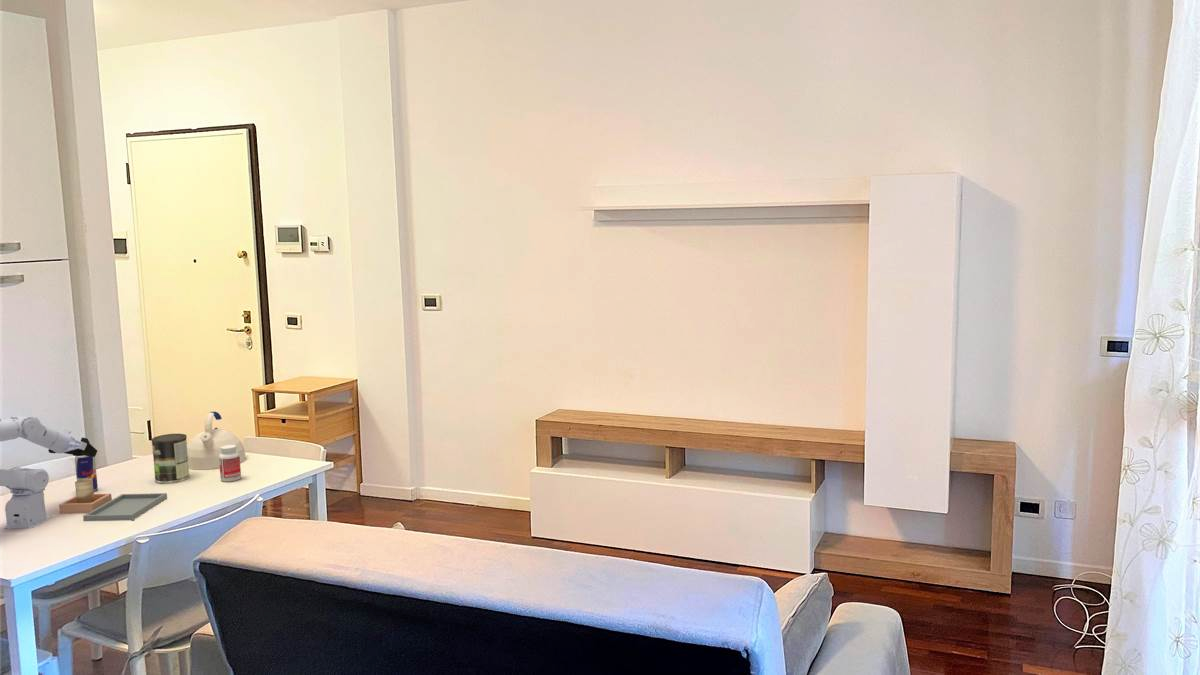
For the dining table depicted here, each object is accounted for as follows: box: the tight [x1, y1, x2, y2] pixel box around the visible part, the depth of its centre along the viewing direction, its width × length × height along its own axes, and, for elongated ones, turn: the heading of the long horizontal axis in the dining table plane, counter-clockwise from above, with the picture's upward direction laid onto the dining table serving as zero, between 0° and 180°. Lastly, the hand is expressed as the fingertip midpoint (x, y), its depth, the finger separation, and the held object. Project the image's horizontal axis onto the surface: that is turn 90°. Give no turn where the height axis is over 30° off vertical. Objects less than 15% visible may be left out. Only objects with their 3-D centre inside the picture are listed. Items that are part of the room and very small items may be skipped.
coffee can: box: [151, 433, 190, 484], centre depth 275 cm, size 10×10×14 cm
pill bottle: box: [219, 445, 242, 483], centre depth 274 cm, size 6×6×11 cm
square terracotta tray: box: [58, 493, 113, 514], centre depth 247 cm, size 10×10×3 cm
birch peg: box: [74, 479, 95, 503], centre depth 247 cm, size 4×4×8 cm
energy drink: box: [74, 455, 99, 493], centre depth 262 cm, size 5×5×12 cm
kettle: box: [187, 411, 247, 471], centre depth 295 cm, size 20×21×18 cm
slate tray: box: [82, 492, 168, 522], centre depth 245 cm, size 20×14×2 cm
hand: (85, 452), depth 253 cm, fingers open, 7 cm apart
